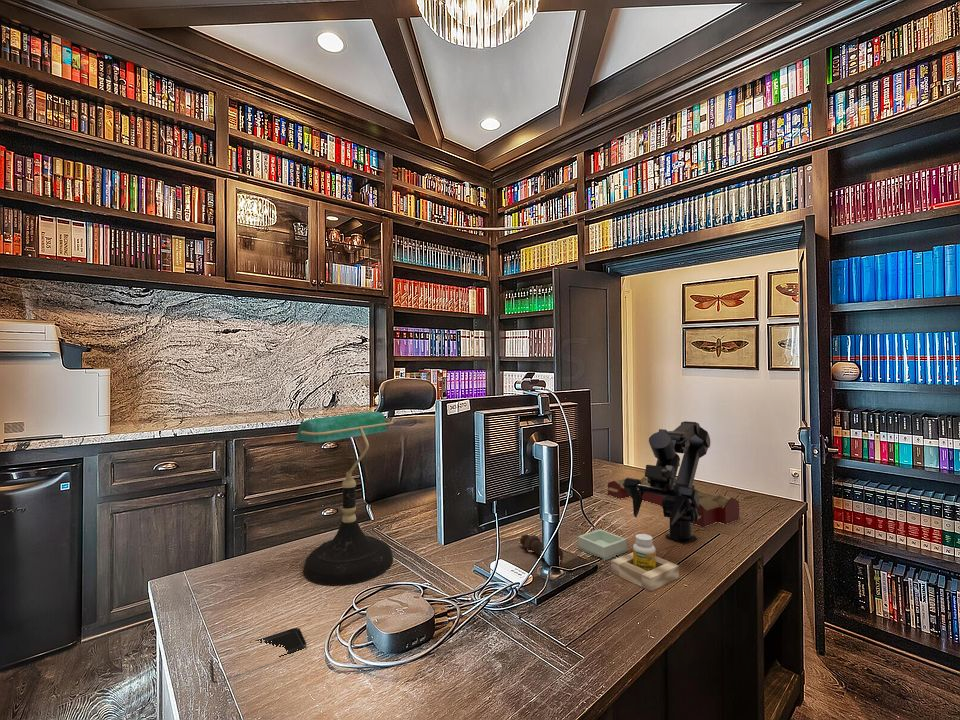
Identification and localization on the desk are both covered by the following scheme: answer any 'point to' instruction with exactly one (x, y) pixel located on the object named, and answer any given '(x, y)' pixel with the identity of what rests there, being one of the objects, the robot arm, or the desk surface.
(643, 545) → the supplement bottle
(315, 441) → the banker's lamp
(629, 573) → the socket block
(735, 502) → the toy houses
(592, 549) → the tray
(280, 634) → the phone
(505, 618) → the desk surface
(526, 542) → the brown long lumpy piece
